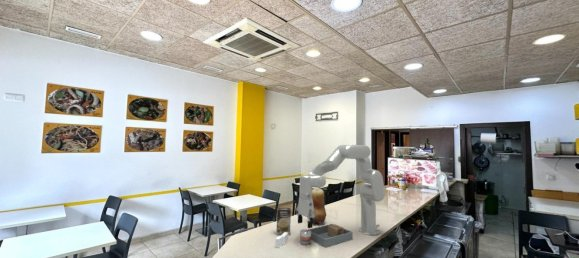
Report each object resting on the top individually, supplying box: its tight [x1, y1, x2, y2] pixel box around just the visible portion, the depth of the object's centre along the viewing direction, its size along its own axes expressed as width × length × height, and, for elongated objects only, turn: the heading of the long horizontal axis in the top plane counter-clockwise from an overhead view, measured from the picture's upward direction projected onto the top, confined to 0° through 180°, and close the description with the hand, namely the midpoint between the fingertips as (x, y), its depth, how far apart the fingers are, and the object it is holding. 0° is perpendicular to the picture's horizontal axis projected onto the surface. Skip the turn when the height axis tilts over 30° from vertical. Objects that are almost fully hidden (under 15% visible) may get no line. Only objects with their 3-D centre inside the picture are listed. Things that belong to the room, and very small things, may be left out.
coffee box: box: [276, 207, 292, 236], centre depth 159 cm, size 9×6×16 cm
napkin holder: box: [274, 232, 289, 249], centre depth 142 cm, size 15×11×6 cm
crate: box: [307, 223, 354, 249], centre depth 150 cm, size 22×18×5 cm
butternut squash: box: [308, 188, 327, 225], centre depth 180 cm, size 14×13×25 cm
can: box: [299, 228, 312, 247], centre depth 143 cm, size 6×6×7 cm
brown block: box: [328, 223, 345, 237], centre depth 153 cm, size 6×8×6 cm
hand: (304, 225), depth 143 cm, fingers open, 9 cm apart
